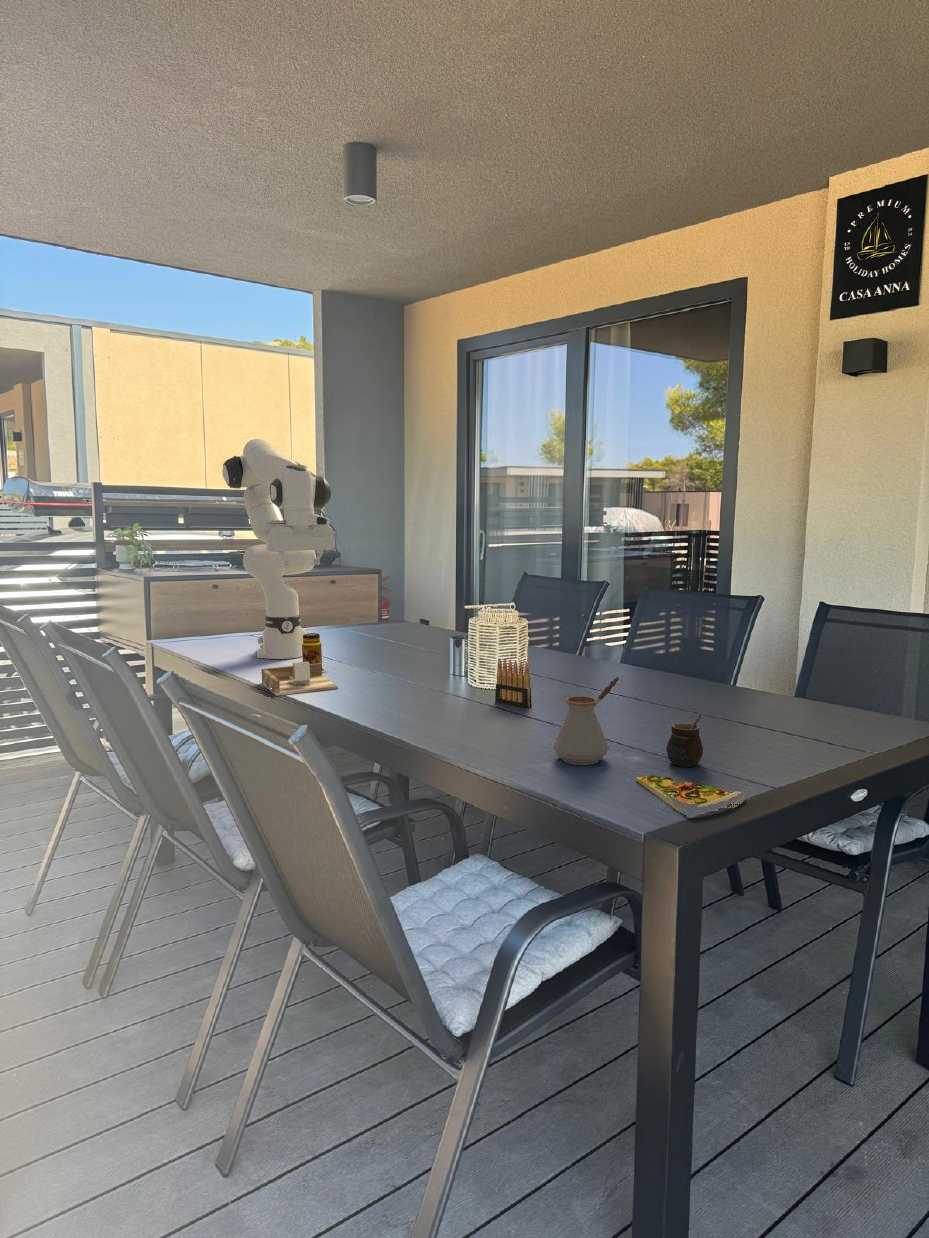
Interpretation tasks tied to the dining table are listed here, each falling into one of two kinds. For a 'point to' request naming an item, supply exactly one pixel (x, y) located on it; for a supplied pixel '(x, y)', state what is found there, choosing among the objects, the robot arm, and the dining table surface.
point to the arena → (282, 686)
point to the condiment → (312, 649)
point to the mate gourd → (685, 744)
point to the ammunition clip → (513, 685)
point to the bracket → (300, 674)
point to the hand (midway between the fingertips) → (301, 565)
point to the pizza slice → (687, 792)
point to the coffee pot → (582, 731)
